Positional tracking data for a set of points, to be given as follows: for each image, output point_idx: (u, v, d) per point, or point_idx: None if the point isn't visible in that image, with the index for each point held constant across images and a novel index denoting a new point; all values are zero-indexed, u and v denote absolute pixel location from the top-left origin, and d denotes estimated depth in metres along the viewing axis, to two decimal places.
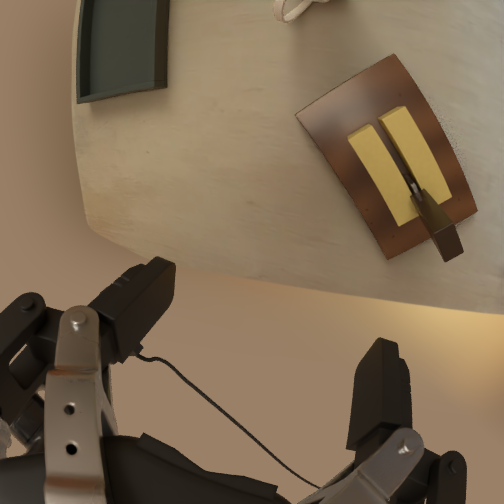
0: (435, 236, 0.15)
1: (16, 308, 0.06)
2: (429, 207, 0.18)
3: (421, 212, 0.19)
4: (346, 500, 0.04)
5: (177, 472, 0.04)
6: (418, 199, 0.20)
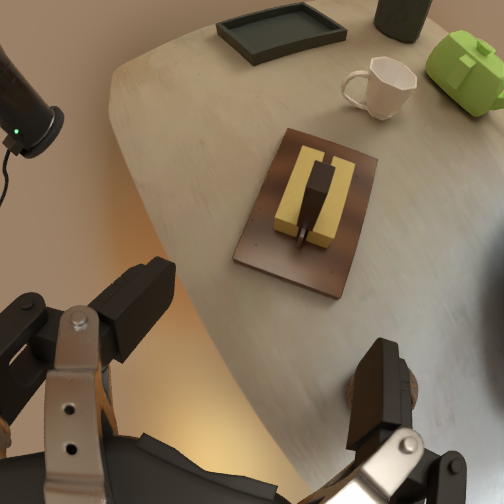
0: (315, 162, 0.20)
1: (16, 308, 0.06)
2: None
3: None
4: (346, 500, 0.04)
5: (177, 472, 0.04)
6: None
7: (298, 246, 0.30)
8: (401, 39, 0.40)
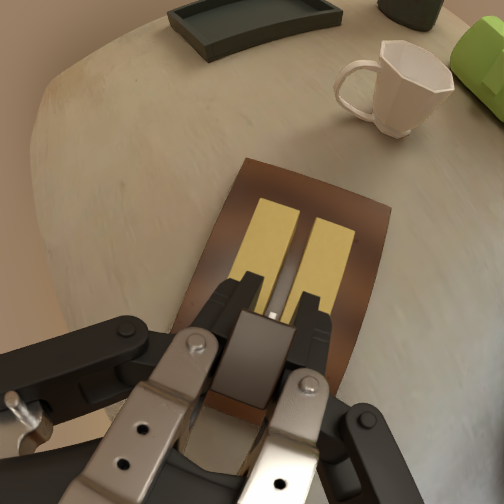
0: (239, 317, 0.07)
1: (112, 328, 0.07)
2: None
3: None
4: (270, 464, 0.04)
5: (177, 472, 0.04)
6: None
7: None
8: (414, 26, 0.28)
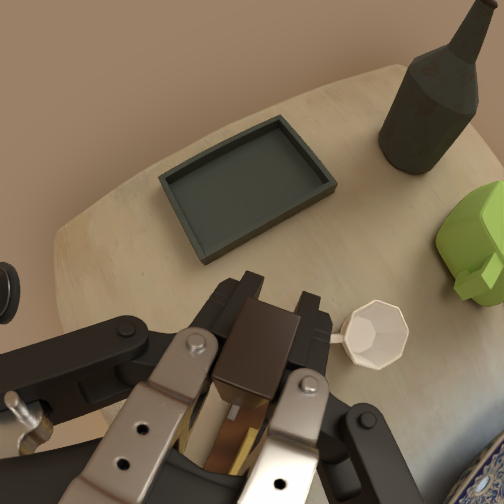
0: (245, 304, 0.08)
1: (112, 328, 0.07)
2: None
3: None
4: (270, 464, 0.04)
5: (177, 472, 0.04)
6: None
7: None
8: (412, 172, 0.37)
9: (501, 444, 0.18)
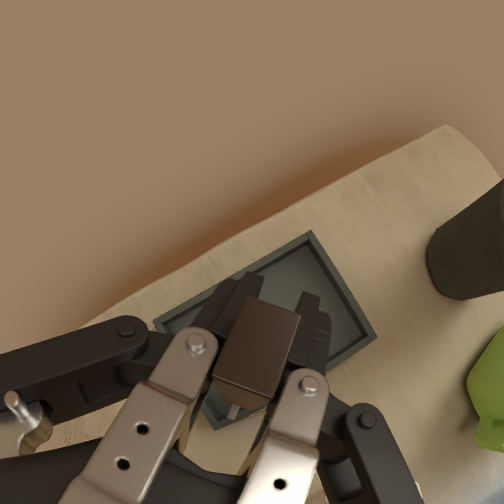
0: (245, 303, 0.08)
1: (112, 328, 0.07)
2: None
3: None
4: (270, 464, 0.04)
5: (177, 472, 0.04)
6: None
7: None
8: (458, 299, 0.30)
9: None
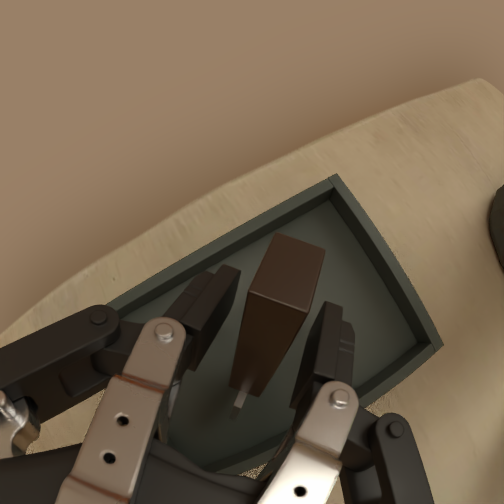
0: (275, 237, 0.08)
1: (85, 318, 0.07)
2: None
3: None
4: (293, 471, 0.04)
5: (177, 472, 0.04)
6: None
7: (233, 419, 0.15)
8: None
9: None
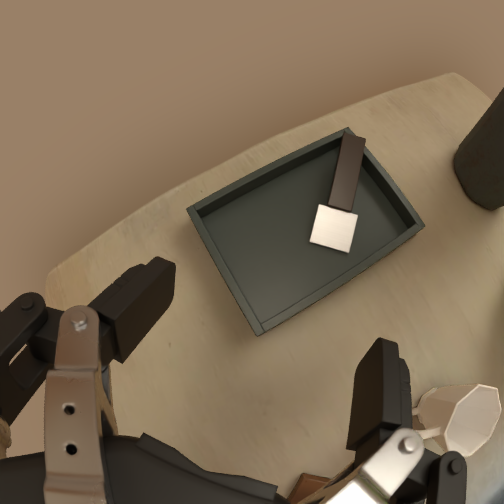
0: (346, 133, 0.27)
1: (16, 308, 0.06)
2: (335, 167, 0.28)
3: (337, 164, 0.27)
4: (346, 500, 0.04)
5: (177, 472, 0.04)
6: (331, 189, 0.27)
7: (349, 248, 0.27)
8: (489, 208, 0.27)
9: None
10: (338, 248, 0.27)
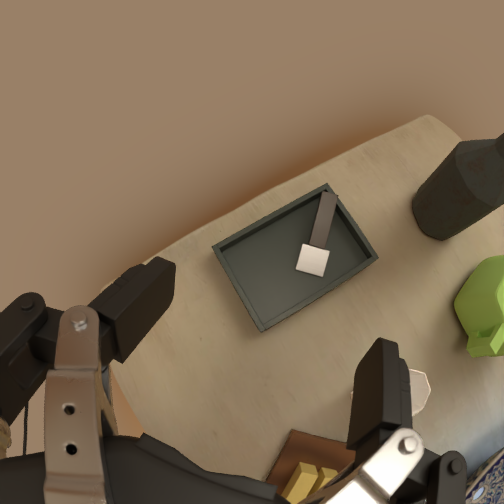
0: (324, 191, 0.40)
1: (16, 308, 0.06)
2: (315, 216, 0.41)
3: (316, 215, 0.40)
4: (346, 500, 0.04)
5: (177, 472, 0.04)
6: (311, 233, 0.41)
7: (323, 273, 0.41)
8: None
9: (493, 466, 0.22)
10: (315, 274, 0.41)
